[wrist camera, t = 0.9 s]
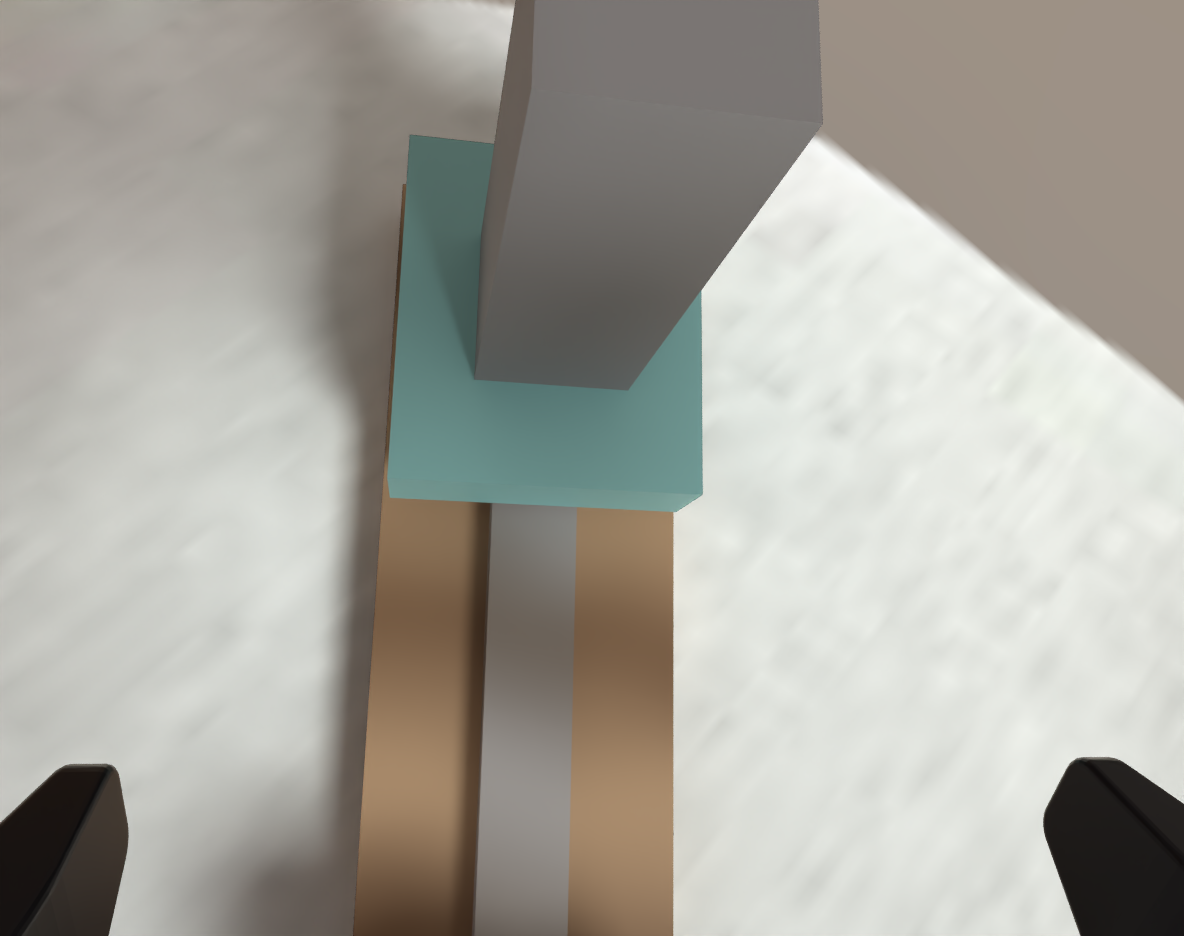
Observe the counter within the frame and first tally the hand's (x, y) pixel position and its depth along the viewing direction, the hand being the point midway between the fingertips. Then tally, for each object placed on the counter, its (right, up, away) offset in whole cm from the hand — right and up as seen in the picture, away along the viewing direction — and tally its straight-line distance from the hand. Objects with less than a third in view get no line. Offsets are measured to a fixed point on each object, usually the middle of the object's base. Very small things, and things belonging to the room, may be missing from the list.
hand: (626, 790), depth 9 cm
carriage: (-1, +6, +12) cm, 13 cm away
